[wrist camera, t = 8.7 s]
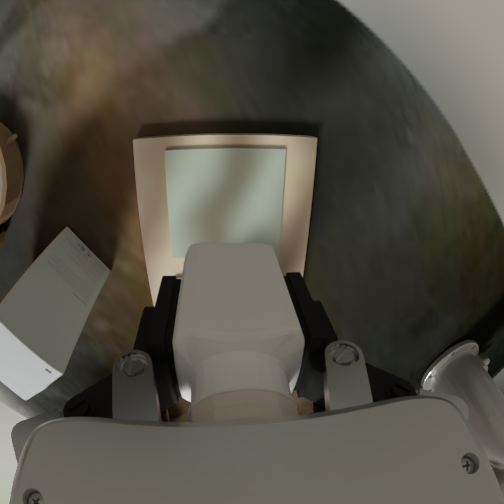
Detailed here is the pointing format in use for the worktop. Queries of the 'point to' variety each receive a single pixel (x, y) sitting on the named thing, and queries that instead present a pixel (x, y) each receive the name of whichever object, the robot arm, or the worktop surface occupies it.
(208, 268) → the salt shaker
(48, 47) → the worktop surface
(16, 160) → the alarm clock
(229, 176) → the board
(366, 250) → the worktop surface
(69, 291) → the small box
